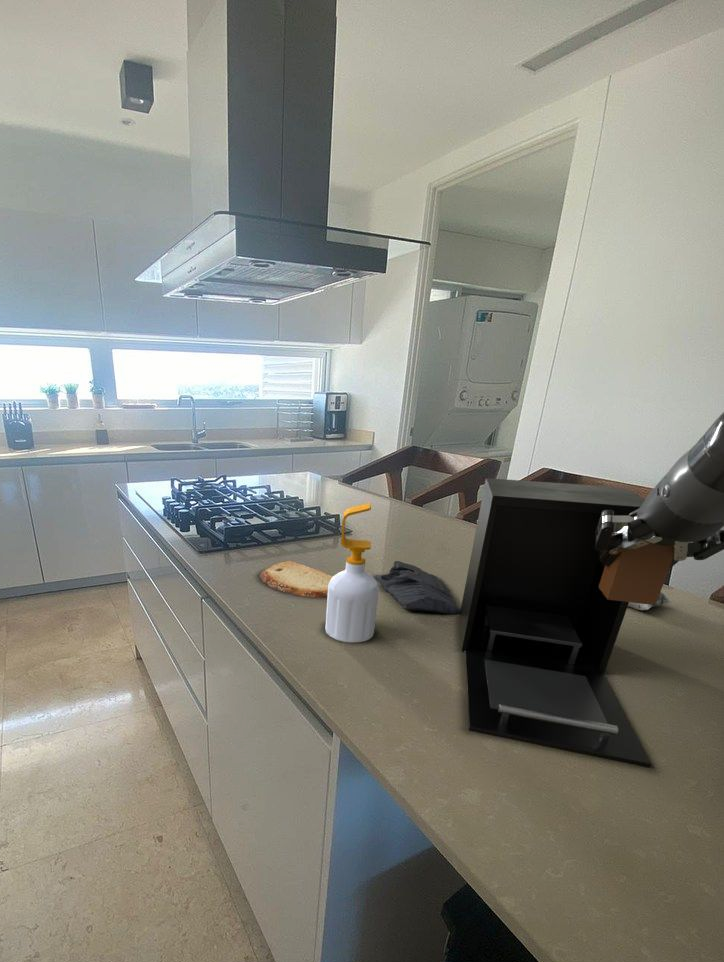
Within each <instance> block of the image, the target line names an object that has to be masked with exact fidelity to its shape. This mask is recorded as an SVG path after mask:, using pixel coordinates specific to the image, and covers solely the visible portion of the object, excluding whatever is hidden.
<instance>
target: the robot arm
mask: <svg viewBox="0 0 724 962" xmlns="http://www.w3.org/2000/svg"><path fill="white" fill-rule="evenodd" d="M644 499H645V500H644V502H643V504H642V506H641V507H640V508H639V509H637V510H635V511H633V512H631V513H630V514H629V515H628V516H614V511H613V510H605V511H603V512H602V514H601V517H600V520H599V523H598V526H597V529H596V532H595V536H596V544H595V550H597V551H600V562H602V564H603V566H610V564H611V563H612V562H613V561H614V560H615V559H616V558H617V557H618V556H619V553H622V552H624V551H626V550H631V551H634V550H637V549H639V548H641V547H643V546H646V545H648V544H658V545H662V546H672V545H674V557H673V559H672V562H671V565H670V568H669V569H671V568H672V567H674V566H675V565H676V564H678V563H679V562H682V561H685V560H687V558H693V559H694V560H695V561H704V560H707V559H708V558H711V557H712V556H715V555H716V554H718V553H720V552H722V551H723V550H724V411H722V413H720V415H718V417H717V418H716V419H715V420H714V421H713V423H712V424H711V425H710V426H709V427H708V428H707V429H706V430H705V432H704V433H703V434H702V436H700V437H699V439H698V440H697V441H696V443H695V444H694V445H693V446H691V448H690V449H688V450H687V451H685V453H683V455H681V457H679V458H678V459H677V461H675V463H674V464H673V465H672V466H671V467H670V468H669V469H668V471H667V472H666V473H665V475H663V477H662V478H661V479H660V481H659V482H658V483H657V484H656V485H655V486H654V488H653V489H652V490H651V491H650V492H649V493H648V495H647V496H646V497H645V498H644ZM621 527H622V529H621V530H619V529H620V528H621ZM617 530H619V531H617ZM621 539H622V542H621Z"/></svg>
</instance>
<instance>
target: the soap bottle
mask: <svg viewBox="0 0 724 962" xmlns="http://www.w3.org/2000/svg"><path fill="white" fill-rule="evenodd" d="M371 510H372V505H371V503H370V502H367V503H363V504H359V505H354V506H350V507H348V508H347V509H346V510H344V512H343V516H342V517H343V518H342V523H341V538H340V543H341V546H342V547H343V548H345V549H348V551H349V552H351V555H350V556H348V557H346V560H345V569H343V570H342V571H339V572H337V573H336V574H333V576H332V578H331V580H330V582H329V584H328V597H326V598H327V600H326V613H325V633H326V634H327V635H328V636H329V637H331V638H332V639H335V640H336V641H340V642H344V643H352V644H353V643H363V642H366V641H369V640H370V639H372V638H373V636H374V634H375V626H376V618H377V611H378V601H379V592H380V586H379V583H378V580H377V579H376V578H375V577H374V576H372V575H371V574H370V573H368V572H366V571H365V570H366V558H364V557H362V554H363V553H364V552H366V551H368V550H371V549H372V541H370V540H364V539H351V538H349V539H348V538H347V537H346V535H345V529H346V520H347V518H348V517H350V516H354V515H357V514H361V513H366V512H369V511H371Z"/></svg>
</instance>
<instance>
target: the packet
mask: <svg viewBox="0 0 724 962" xmlns="http://www.w3.org/2000/svg"><path fill="white" fill-rule="evenodd" d="M621 542H622V539H621ZM673 557H674V545H672V546H662V545H658V544H648V545H646V546H643V547H641V548H639V549H637V550H634V551H631V550H626V551H624V552H622V553H619V556H618V557H617V558H616V559H615V560H614V561H613V562H612V563H611V564H610V566H605V568H604V571H603V574H602V577H601V581H600V584H599V589H600V590H601V591H602V593H603V594H604V596H605V597H606V598H607V599H608V600H616V601H624V602H632V603H641V604H649V605H656V603H657V600H658V598H659V595H660V592H662V590H663V587H664V583H665V581H666V578H667V575H668V573H669V570H670V569H671V568H670V565H671V562H672V559H673Z"/></svg>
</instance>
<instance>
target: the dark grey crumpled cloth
mask: <svg viewBox="0 0 724 962" xmlns="http://www.w3.org/2000/svg"><path fill="white" fill-rule="evenodd" d="M438 577H439V576H436V575H435V574H431V573H428V572H426V571H424V570H423V569H421V568H420V567H418V566H417V565H413V564H410V563H405V562H403V561H401V560H395V561H394V562H393V565H392V566H391V568H390V569H389V572H388V573H387V574H380V575H379V574H378V575H375V576H374V579H375V580H376V581H377V582H379V584H380V586H381V587H382V588H383V590H385V591H386V592H388V593H389V594H390V596H392V597H393V599H394V600H395V601H396V602H397V603H398V604H399V605H400V606H401V607H403V608H404V609H406V610H407V611H418V612H419V611H420V612H430V613H436V614H446V615H458V614H460V610H461V607H459V606H458V605H457V603H456V601H455V600H454V598H453V596H452V595H451V593H450V592H449V590H448V588H446V586H445V585H444V584H443V582H442V581H441V580H440V579H439V578H438Z"/></svg>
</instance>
